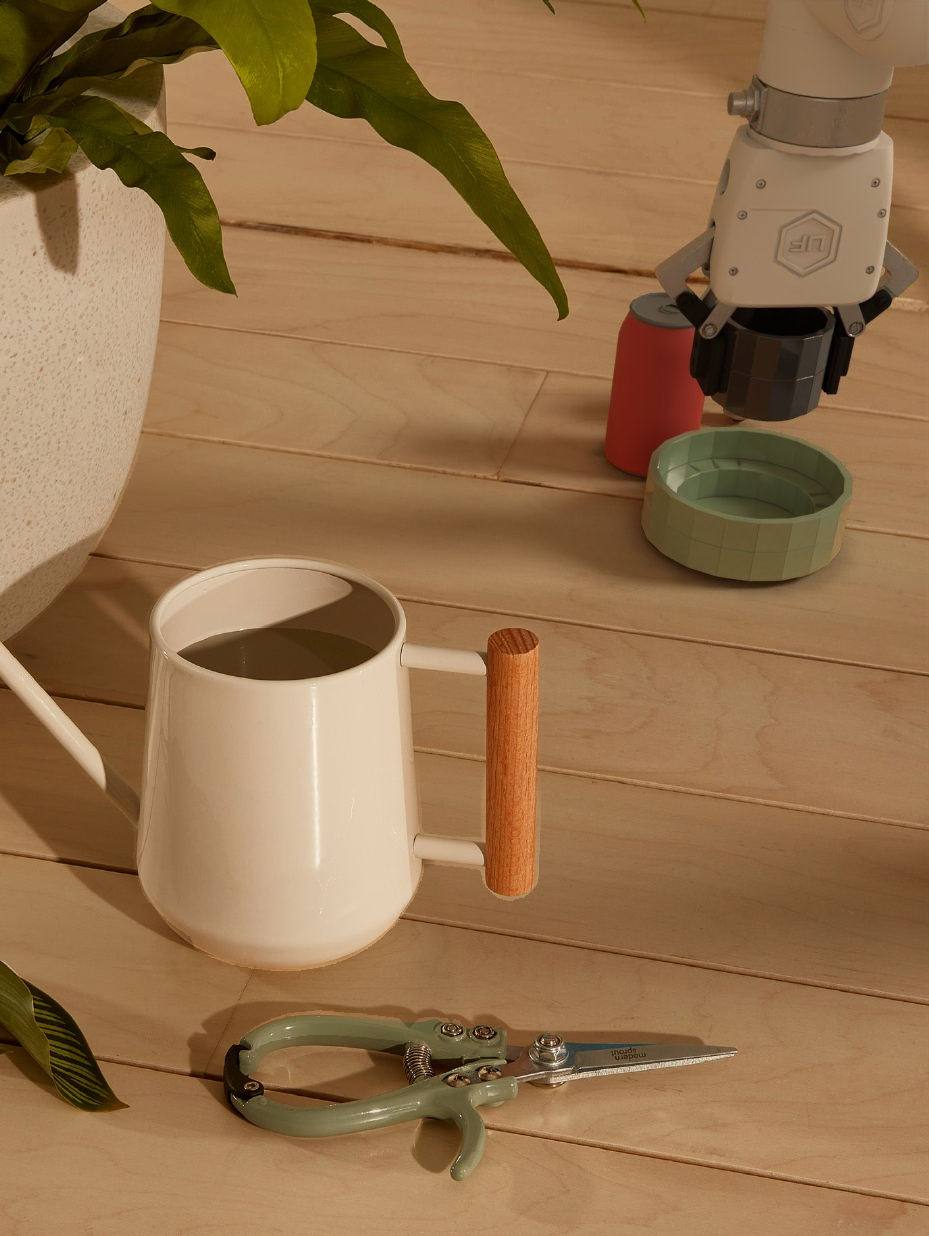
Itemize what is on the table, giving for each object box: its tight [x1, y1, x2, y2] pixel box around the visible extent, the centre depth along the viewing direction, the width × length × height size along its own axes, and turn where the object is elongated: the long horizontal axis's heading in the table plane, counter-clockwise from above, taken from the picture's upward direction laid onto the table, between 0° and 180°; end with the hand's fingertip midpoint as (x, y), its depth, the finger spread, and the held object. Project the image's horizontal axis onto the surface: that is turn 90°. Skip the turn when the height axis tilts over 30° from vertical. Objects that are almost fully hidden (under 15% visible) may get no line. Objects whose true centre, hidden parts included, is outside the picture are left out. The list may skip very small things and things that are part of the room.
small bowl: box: [710, 307, 836, 423], centre depth 111 cm, size 7×7×6 cm
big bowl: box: [640, 426, 854, 582], centre depth 117 cm, size 13×13×5 cm
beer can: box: [603, 291, 706, 479], centre depth 124 cm, size 7×7×12 cm
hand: (765, 384), depth 112 cm, fingers closed on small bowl, 7 cm apart
